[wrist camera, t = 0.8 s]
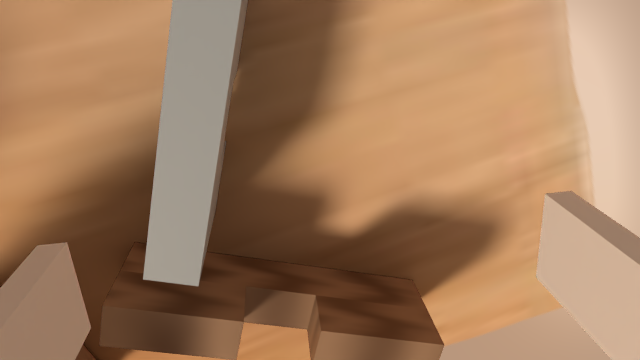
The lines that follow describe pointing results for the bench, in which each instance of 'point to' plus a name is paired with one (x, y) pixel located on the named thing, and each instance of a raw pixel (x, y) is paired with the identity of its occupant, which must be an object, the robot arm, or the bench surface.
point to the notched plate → (192, 135)
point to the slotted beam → (268, 310)
